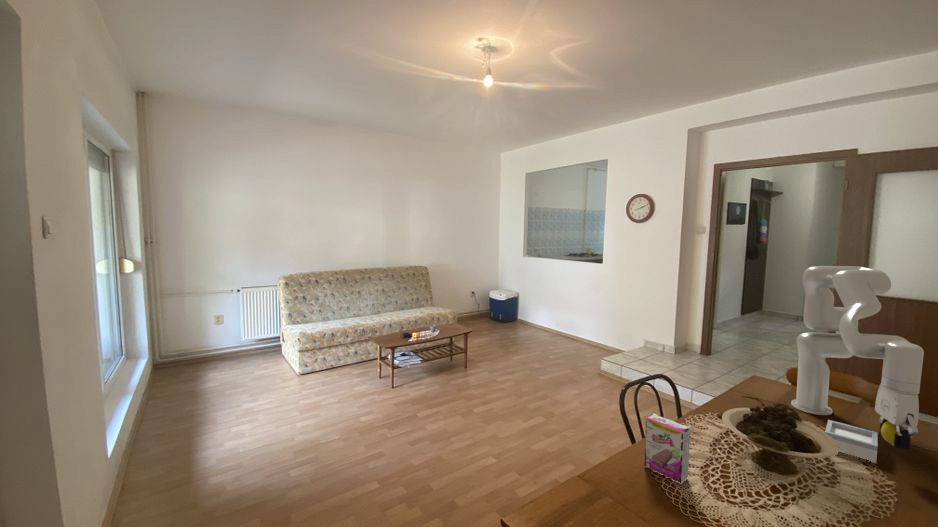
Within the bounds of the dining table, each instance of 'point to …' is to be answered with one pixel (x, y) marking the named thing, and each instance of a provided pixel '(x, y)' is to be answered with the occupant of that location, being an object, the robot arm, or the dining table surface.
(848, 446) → the tray
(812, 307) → the robot arm
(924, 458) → the dining table surface
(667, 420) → the candy bar box
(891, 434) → the lemon
